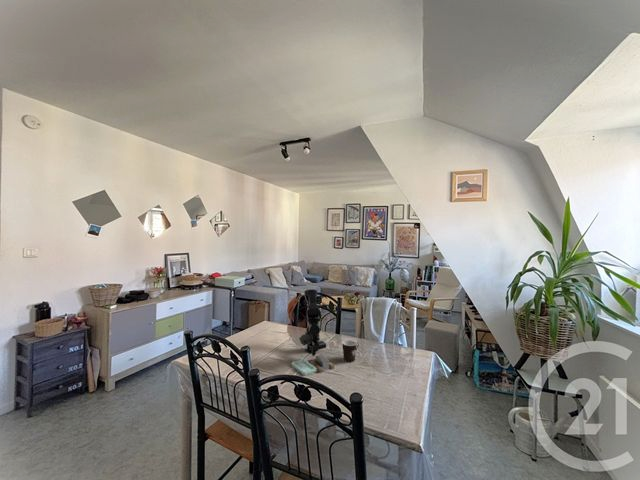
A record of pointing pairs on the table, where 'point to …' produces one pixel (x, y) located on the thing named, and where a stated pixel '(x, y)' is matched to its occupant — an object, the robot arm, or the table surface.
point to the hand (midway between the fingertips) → (313, 355)
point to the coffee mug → (349, 350)
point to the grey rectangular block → (322, 362)
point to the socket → (319, 368)
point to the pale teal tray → (304, 367)
